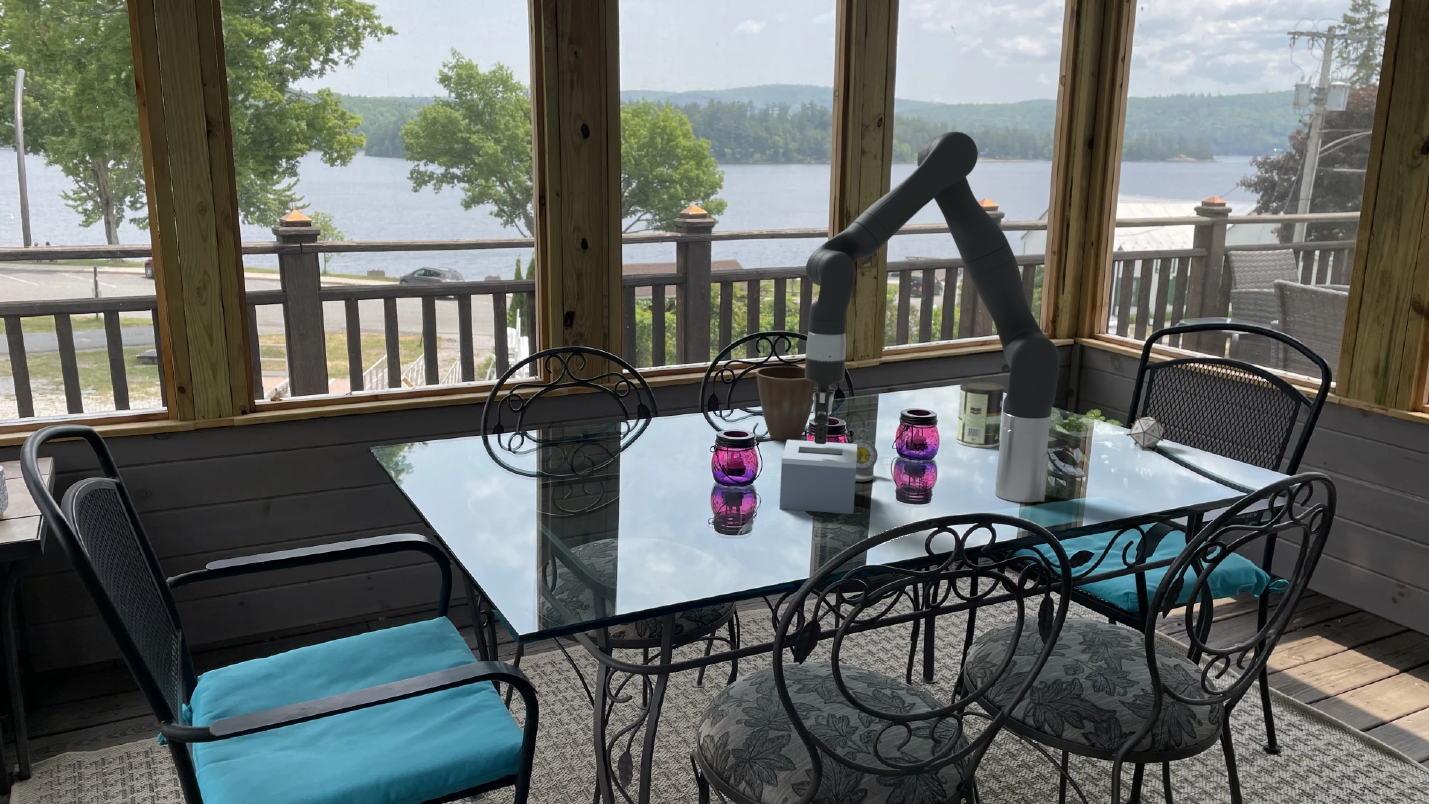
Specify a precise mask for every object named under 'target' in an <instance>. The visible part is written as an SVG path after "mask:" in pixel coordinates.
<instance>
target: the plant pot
mask: <svg viewBox="0 0 1429 804" xmlns="http://www.w3.org/2000/svg"><path fill="white" fill-rule="evenodd" d="M755 374H756V381H757V388H758V394H759V402H760V407H761V411H762V415H763V417H764V422H765V425H766V429H767V431H768V434H769V435H768V436H769V437H770V438H771V439H773V440H776V441H780V442H781V441H782V442H787V440H800V439H801V438H802V436H803V434H804V432H805V430H806V426H807V424H808V421H809V418H810V415H811V413H812V411H813V405H814V400H813V391H814V388H818V384H817V383H816V382H811V381H808V380H807V379H806V378H805V367H798V366H768V367H762V368H759V369H758V370H757V371H756V373H755Z"/></svg>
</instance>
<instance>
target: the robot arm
mask: <svg viewBox="0 0 1429 804" xmlns="http://www.w3.org/2000/svg"><path fill="white" fill-rule="evenodd" d="M978 154H979V153H978V148H977V144H976V143H975V140H973V139H972V137H971V136H970V135H968V134H966V133H964V132H960V131H948V132H945V133H942V134H940V135H938V136H935V137H933V138H930V139H928V140H927V141H925V142H924V143H923V144H922V145H921V147H920V148H919V150H918V153H917V160H916V161H917V167H916V168H915V170H914V171H913V172H912V173H911V174H910V175H908V177H906V178H905V179H904V180H903V181H902V182H900V183H899V184H897V185H896V186H895V187H894V188H893V189H891V190H889V191H888V192H887V193H886V194H884V195H882V197H880V198H879V199H878V200H876V201H875V202H874V203H872V204H871V205H870V206H869V207H867V209H865V210H864V211H863V212H861V214H860V215H859V216H858V217H857V218H855V220H853V222H852V223H851V224H850V225H848V227H846V229H844V230H843V231H841V232H839V233H837V234H836V235H835V236H833V237H832V238H830V239H829V240H827V241H825V242H824V243H822V244H821V245H820V246H819V247H817V248H816V249H815V250H814V251H813V252H812V254H811V255H810V256H809V258H808V259H807V262H806V266H805V274H806V276H807V278H808V280H810V282H811V283H812V284H814V285H816V286H818V287H819V291H818V296H817V300H816V301H813V302H812V303H811V305H810V307H809V313H808V314H809V315H808V328H807V329H808V333H807V337H806V338H807V339H806V344H805V346H806V347H805V362H804V363H805V364H804V365H805V366H804V368H805V378H806V379H807V380H808V381H811V382H816V383H817V384H818V385H817V388H814V391H813V400H814V402H813V406H812V412H813V415H814V419H813V423H814V426H815V427H814V441H815V443H816V444H825V443H826V442H827V434H828V432H829V421H830V419H829V416H830V415H831V414H832V408H833V402H834V397H835V388H832V385H833V384H838V383H841V382H843V381H844V380H845V373H846V372H845V369H846V357H847V356H846V354H847V353H846V352H847V342H846V341H847V338H846V329H847V310H848V307H849V304H850V301H851V297H852V294H853V291H854V287H855V282H856V269H855V262H857V261H858V260H861V259H862V260H863V259H867V258H870V257H871V256H872V255H874V254H875V253H876V252H877V251H878V250H879V249H880V248H881V247H883V246H884V245H885V244H886V243H887V242H888V241H889V240H890V239H891V238H892V237H893V236H894V235H895V234H896V233H897V232H898V231H899V230H900V229H901V228H903V227H904V226H905V225H906V223H908V222H909V221H910V220H911V219H912V218H913V217H914V216H915V215H916V214H917V213H918V212H919V211H920V210H922V209H923V208H924V207H925V206H926V205H927V204H929V202H931V201H932V200H934V201H935V202H936V204H937V206H938V207H939V209H940V211H941V213H942V214H941V215H943V217H944V220H945V222H946V225H947V228H948V230H949V231H950V234H951V237H952V238H953V241H954V243H955V246H956V249H957V250H958V252H959V255H960V258H961V261H962V262H963V264H964V268H965V270H966V271H967V274H968V277H969V278H970V281H971V283H972V284H973V286H974V288H975V290H976V293H977V294H978V296H979V298H980V299H981V302H982V303H983V305H984V306H985V308H986V309H987V311H988V313H989V315H990V317H991V319H992V322H993V323H994V325H995V329H996V332H997V334H998V338H999V341H1000V344H1001V347H1002V351H1003V354H1004V359H1005V361H1006V364H1007V365H1008V367H1009V375H1008V384H1007V385H1008V386H1007V393H1006V394H1005V397H1004V398H1003V405H1002V415H1001V426H1000V438H999V445H998V446H999V448H998V459H997V469H996V481H995V492H994V493H995V495H996V496H998V498H1000V499H1004V500H1007V501H1009V502H1010V501H1011V502H1016V503H1017V502H1018V503H1034V502H1045V497H1046V488H1047V486H1046V485H1047V478H1048V469H1049V459H1050V457H1049V454H1048V444H1049V433H1050V426H1051V415H1052V410H1053V409H1052V408H1053V406H1054V403H1055V400H1056V396H1057V388H1058V380H1059V372H1060V354H1059V350H1058V348H1057V346H1056V344H1055V343H1054V342H1053V341H1052V340H1051V339H1049V338H1048V337H1047V336H1046V335H1045V334H1044V333H1043V331H1042V329H1041V328H1040V326H1039V324H1038V322H1037V321H1036V318H1035V317H1034V315H1033V313H1032V311H1031V309H1030V307H1029V304H1028V302H1027V298H1026V294H1025V290H1024V289H1025V288H1024V285H1023V281H1022V275H1021V272H1020V271H1021V270H1020V268H1019V265H1018V263H1017V260H1016V256H1015V254H1014V252H1013V250H1012V247H1011V245H1010V243H1009V241H1008V240H1009V239H1008V238H1007V236H1006V235H1005V232H1004V231H1003V230H1002V228H1000V225H998V223H997V222H996V221H995V220H994V219H993V218H992V217H991V216H990V214H989V213H988V212H987V211H986V210H985V209H984V208H983V207H982V206H981V204H980V203H979V201H978V200H977V198H976V197H975V195H974V193H973V191H972V188H971V186H970V184H969V180H968V179H967V176H969V174H971V173H972V172H973V170H974V168H976V167H975V166H976V164H977V161H978Z"/></svg>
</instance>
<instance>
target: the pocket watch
mask: <svg viewBox="0 0 1429 804" xmlns="http://www.w3.org/2000/svg"><path fill="white" fill-rule="evenodd" d="M861 430H865V431H867V432H868V433H867V434H866V433H865V432H862V433H860V431H861ZM870 432H871V431H870V430H868V429H867V428H864V427H863V428H858V430H857V434H858V436H860V438H861V439H856V440H854V441H853V442H852V443H850V444H857V462H856V479H855V482H860V483H861V482H868V481H872V480H873V479H874V477H875V475H874V473H873V472H871V471H868V470H870V469H871V468H873V467H875V464H876V463H877V462H878V461H877V460H878V450H877V448H876V446H875V445H874V444H873V443H872V442H871V441H869V440H867V439H865V438H866V437H868V436H869V435H870ZM860 461H861V462H860Z"/></svg>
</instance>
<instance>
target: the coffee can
mask: <svg viewBox="0 0 1429 804" xmlns="http://www.w3.org/2000/svg"><path fill="white" fill-rule="evenodd" d="M959 386H960V387H959V388H960V392H959V403H958V415H957V417H958V419H957V429H956V430H957V431H956V440H955V441H956V443H957V444H960V445H962V446H965V447H972V448H980V449H982V448H983V449H985V448H986V449H987V448H996V447H998V446H1000V435H1001V426H1002V425H1001V424H1002V413H1003V403H1004V391H1005V386H1004V385H1002V384H999V383H996V382H989V381H976V380H975V381H964V382H961V383H960V384H959Z"/></svg>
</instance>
